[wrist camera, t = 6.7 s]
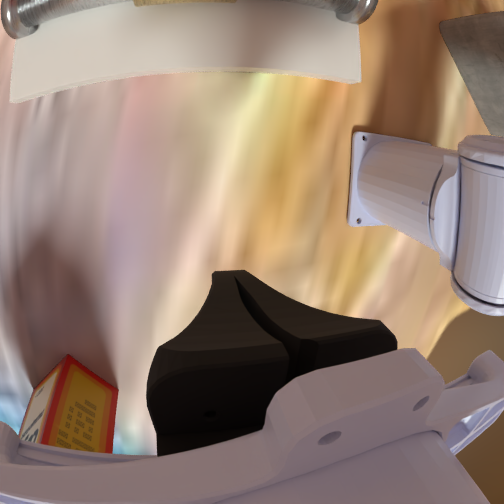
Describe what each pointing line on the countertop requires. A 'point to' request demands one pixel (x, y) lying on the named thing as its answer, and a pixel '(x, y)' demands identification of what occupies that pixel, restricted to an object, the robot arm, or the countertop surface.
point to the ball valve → (64, 3)
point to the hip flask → (480, 62)
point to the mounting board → (184, 44)
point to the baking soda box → (71, 410)
